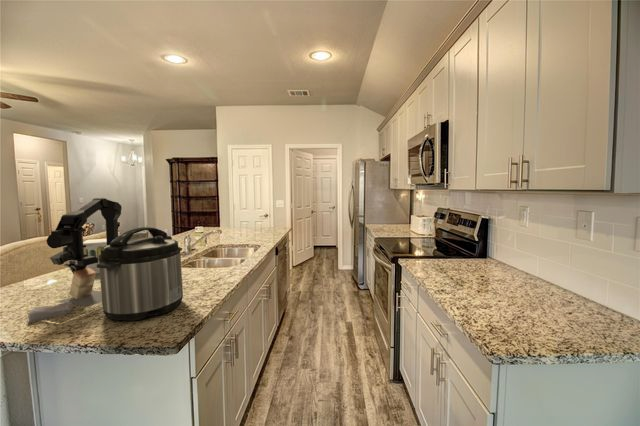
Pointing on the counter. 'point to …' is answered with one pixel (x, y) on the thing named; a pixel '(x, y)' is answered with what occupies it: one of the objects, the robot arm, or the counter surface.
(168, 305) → the pressure cooker
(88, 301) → the rubber mat
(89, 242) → the supplement box
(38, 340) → the counter surface
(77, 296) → the birch block
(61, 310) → the stone block
